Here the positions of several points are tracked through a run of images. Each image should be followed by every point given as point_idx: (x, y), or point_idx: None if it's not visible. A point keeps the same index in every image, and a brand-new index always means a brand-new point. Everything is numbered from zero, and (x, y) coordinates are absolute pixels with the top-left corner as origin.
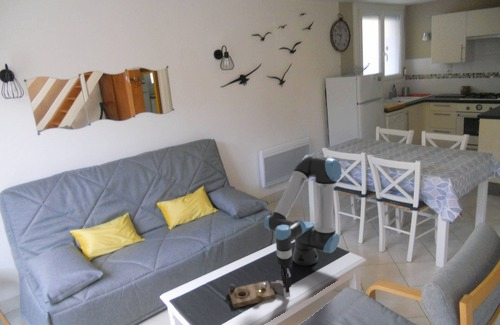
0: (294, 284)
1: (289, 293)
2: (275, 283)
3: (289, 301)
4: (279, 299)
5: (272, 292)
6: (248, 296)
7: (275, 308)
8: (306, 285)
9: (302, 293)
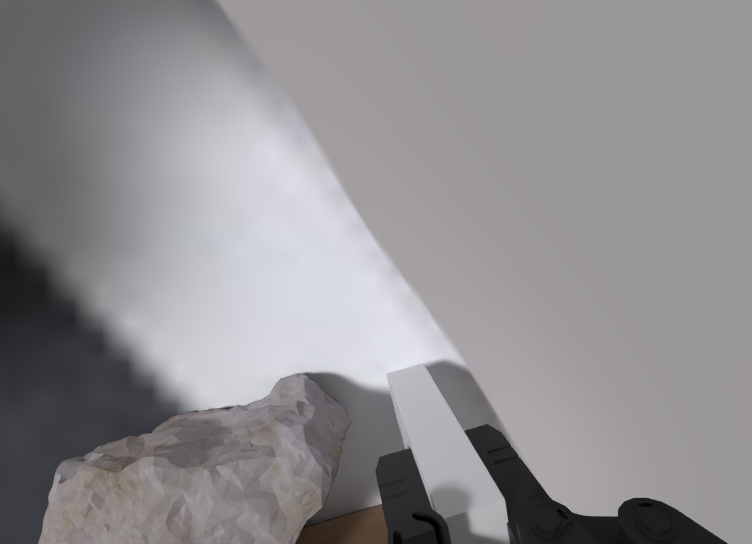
0: (85, 258)
1: (438, 393)
2: None
3: (462, 360)
4: None
5: None
6: None
7: None
8: (120, 66)
9: (329, 176)
